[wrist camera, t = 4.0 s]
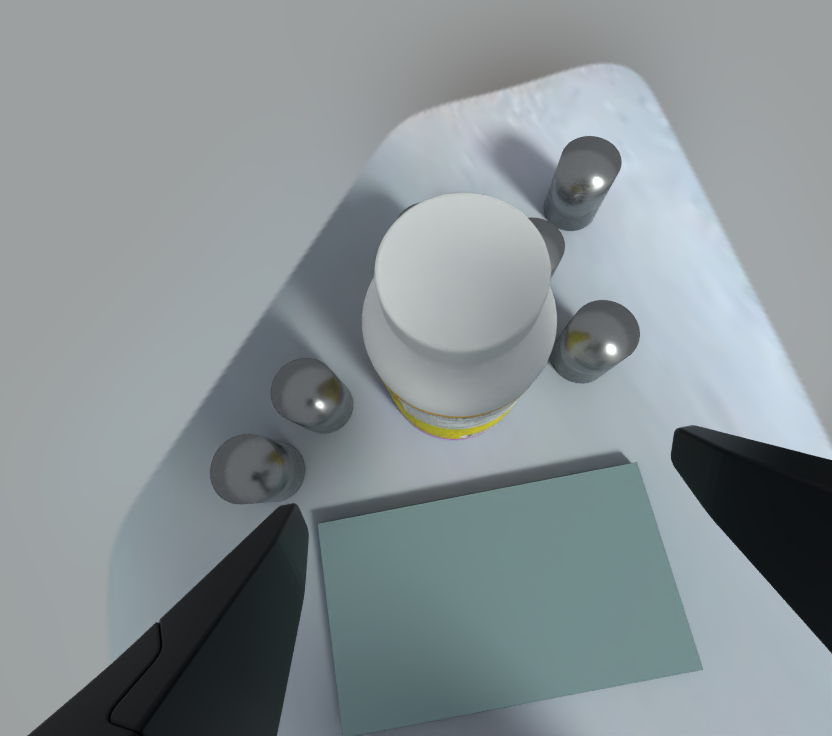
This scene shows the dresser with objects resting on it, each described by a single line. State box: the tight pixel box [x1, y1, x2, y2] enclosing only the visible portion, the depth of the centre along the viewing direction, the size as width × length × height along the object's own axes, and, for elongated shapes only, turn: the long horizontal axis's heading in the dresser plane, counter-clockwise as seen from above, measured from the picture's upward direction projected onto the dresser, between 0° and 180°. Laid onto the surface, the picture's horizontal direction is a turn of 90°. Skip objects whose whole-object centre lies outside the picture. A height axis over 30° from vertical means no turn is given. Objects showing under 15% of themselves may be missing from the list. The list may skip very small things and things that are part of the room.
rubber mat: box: [318, 462, 703, 736], centre depth 21 cm, size 9×16×1 cm, turn 100°
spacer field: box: [210, 136, 640, 504], centre depth 23 cm, size 15×22×4 cm
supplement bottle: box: [362, 193, 557, 440], centre depth 18 cm, size 7×7×13 cm
